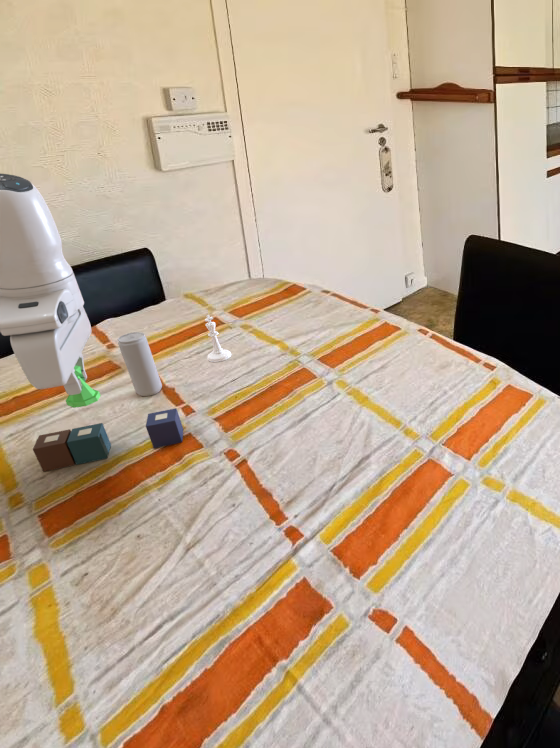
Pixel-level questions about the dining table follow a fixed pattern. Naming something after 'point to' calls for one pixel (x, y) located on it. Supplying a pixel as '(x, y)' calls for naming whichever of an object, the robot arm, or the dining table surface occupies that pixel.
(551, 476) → the dining table surface
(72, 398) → the game piece
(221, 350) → the chess piece
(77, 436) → the letter blocks
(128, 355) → the beverage can
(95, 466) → the dining table surface
